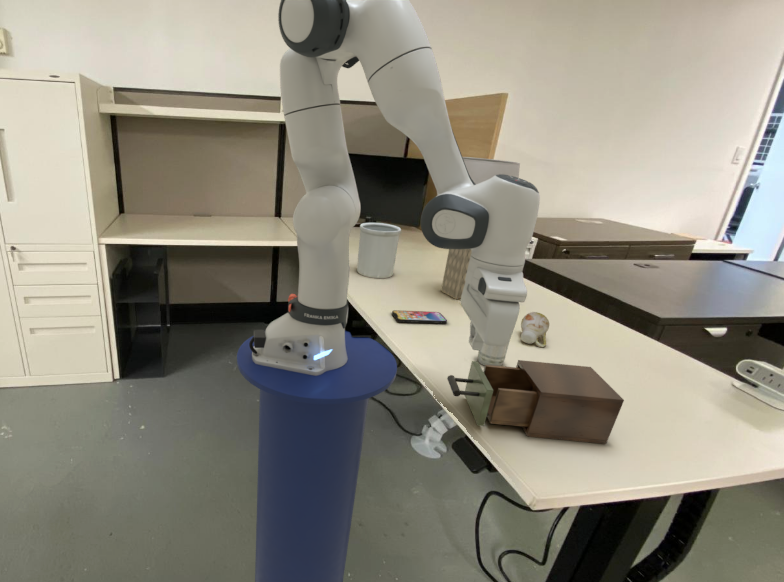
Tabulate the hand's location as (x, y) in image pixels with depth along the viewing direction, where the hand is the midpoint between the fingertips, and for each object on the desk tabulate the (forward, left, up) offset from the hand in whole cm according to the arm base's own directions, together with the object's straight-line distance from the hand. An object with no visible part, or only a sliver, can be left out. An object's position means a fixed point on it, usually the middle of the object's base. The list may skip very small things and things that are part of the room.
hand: (474, 346), depth 86 cm
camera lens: (+13, +24, -14) cm, 31 cm away
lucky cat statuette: (+29, +41, -15) cm, 52 cm away
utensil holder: (-12, +93, -15) cm, 95 cm away
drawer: (+6, 0, -13) cm, 15 cm away
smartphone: (-1, +49, -14) cm, 51 cm away
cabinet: (+19, 0, -14) cm, 23 cm away
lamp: (+16, +76, -14) cm, 79 cm away
